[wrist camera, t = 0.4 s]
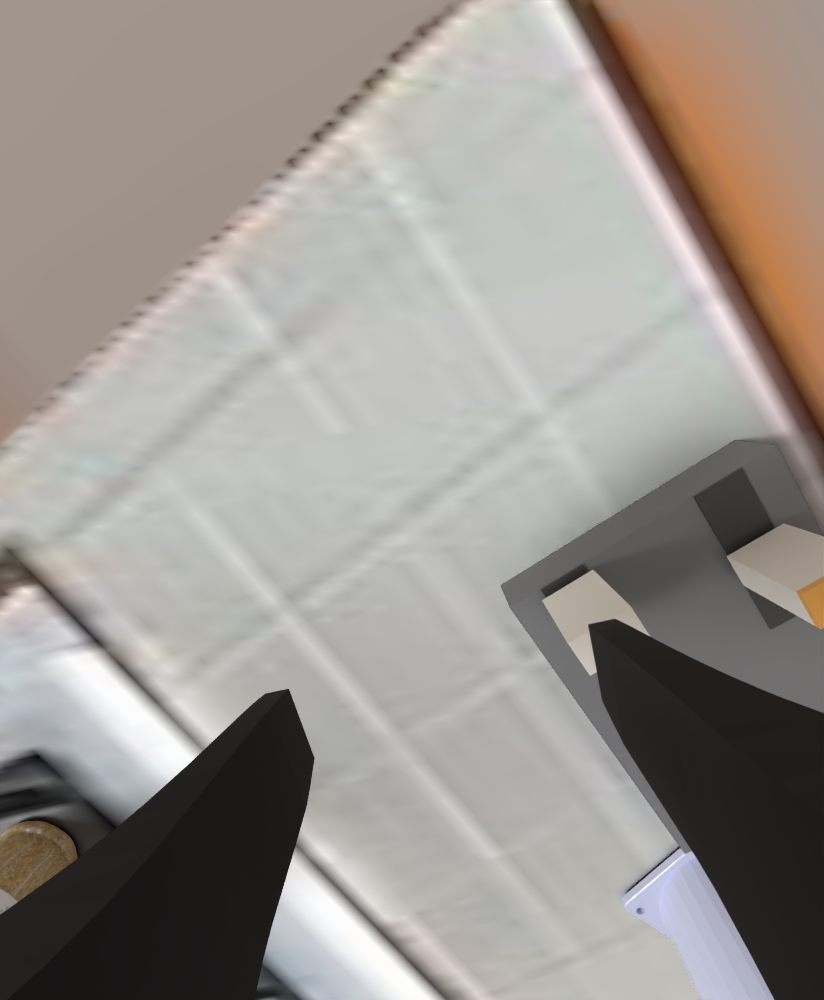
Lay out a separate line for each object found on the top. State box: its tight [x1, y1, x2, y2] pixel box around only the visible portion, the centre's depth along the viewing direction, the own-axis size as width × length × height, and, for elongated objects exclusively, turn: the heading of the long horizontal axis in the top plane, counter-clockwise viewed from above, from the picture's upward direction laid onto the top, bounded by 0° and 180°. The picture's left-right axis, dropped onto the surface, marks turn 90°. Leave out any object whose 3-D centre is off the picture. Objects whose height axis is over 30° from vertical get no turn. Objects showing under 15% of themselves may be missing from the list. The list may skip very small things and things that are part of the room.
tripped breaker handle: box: [727, 523, 824, 629], centre depth 15 cm, size 2×2×3 cm, turn 125°
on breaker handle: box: [542, 570, 650, 676], centre depth 16 cm, size 2×2×3 cm, turn 125°
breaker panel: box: [501, 440, 824, 854], centre depth 19 cm, size 16×12×2 cm
